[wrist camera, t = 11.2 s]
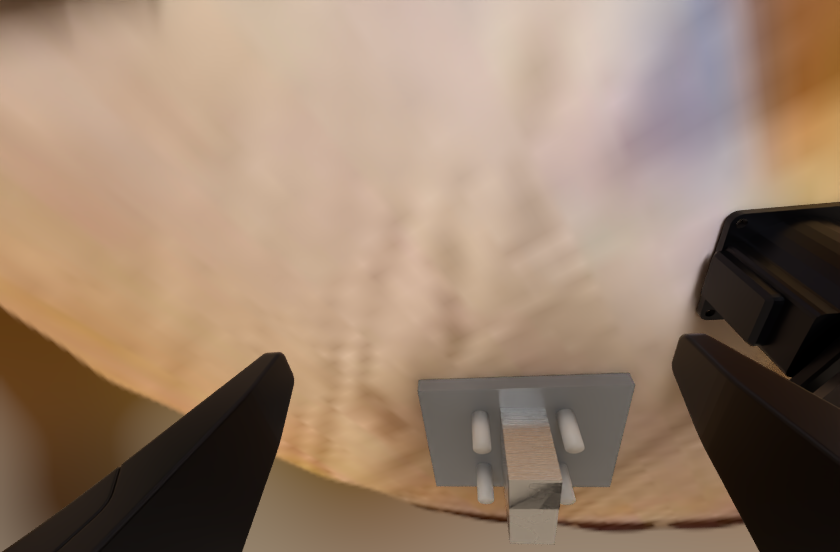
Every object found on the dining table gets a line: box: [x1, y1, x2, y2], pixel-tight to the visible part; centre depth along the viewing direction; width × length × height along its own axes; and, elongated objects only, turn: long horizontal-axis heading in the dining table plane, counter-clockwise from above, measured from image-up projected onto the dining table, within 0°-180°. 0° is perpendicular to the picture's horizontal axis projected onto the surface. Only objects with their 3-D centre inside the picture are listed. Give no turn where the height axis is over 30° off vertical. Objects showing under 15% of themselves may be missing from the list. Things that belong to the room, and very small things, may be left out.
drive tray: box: [418, 373, 635, 505], centre depth 28 cm, size 14×12×4 cm
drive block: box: [500, 407, 562, 544], centre depth 26 cm, size 3×8×5 cm, turn 8°
